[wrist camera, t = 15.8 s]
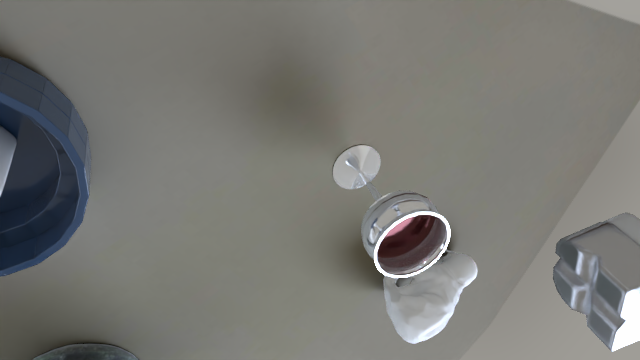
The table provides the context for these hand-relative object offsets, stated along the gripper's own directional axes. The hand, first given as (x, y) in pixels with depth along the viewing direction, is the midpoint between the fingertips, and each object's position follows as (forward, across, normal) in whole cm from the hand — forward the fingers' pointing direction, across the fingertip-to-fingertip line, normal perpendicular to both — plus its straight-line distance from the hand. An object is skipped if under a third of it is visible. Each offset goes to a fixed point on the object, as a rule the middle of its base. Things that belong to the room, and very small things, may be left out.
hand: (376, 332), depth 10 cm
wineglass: (+34, -9, +22) cm, 41 cm away
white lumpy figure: (+34, -14, +39) cm, 53 cm away
